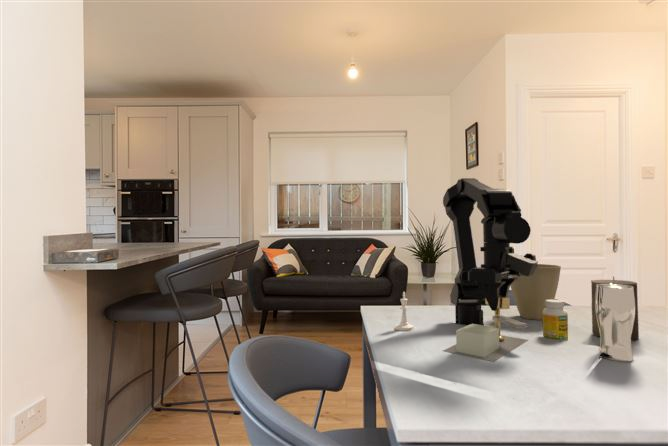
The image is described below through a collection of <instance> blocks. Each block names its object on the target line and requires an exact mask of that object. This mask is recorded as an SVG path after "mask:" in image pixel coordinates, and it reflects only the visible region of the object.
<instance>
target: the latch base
mask: <svg viewBox="0 0 668 446" xmlns="http://www.w3.org/2000/svg"><path fill="white" fill-rule="evenodd" d="M502 336H504V337H505V340H501V341H499V349H498V350H496V351H494V352H493V353H491V354H489V355H488V356H486V357H480V356H475V355H471V354H466V353H461V352H457V351H456V344H454V345H452V346H450V347H447V348H446V349H443V350H442V352H445V353H450V354H454V355H460V356H464V357H469V358H474V359H477V360H482V361H485V362H486V361H487V362H492V363H495V362H496V361H498V360H499V359H502V358H503V357H504V356H506V355H507V354H509V353H511V352H512V351H514V350H516V349H517V348H518V347H520V346H521V345H523V344H525V343H527V342H528V341H529V339H526V338H520V337H514V336H513V337H512V336H509V335H502Z"/></svg>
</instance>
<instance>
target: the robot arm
mask: <svg viewBox="0 0 668 446" xmlns="http://www.w3.org/2000/svg"><path fill="white" fill-rule="evenodd" d="M442 198H443V199H442V205H443V207H444V211H445V214H446V216H447V217H448V218H449V220H451V222H452V226H453V233H454V241H455V247H456V255H457V262H458V263H457V264H458V271H457V273H456V276H455V277H454V284H453V287H452V289H451V292H450V295H449V297H450V303H452V304H453V305H454V306H455V315H454V316H455V322H454V324H456V325H462V326H468V325H470V324H478V325H484V326H485V323H484V310H483V309H482V306H487V305H488V304H489V305H488V306H489V307H490V310H491V311H493V312H495V311H497V306H498V299H499V295H501V296H504V297H508V296H509V295H508V294H509V292H510V291H509V290H510V289H511V286H510V285H511V284H513V283H514V282H515V281H516V280H518V278H512V275H517V276H530V275H533V274H534V271H535V269H536V268H537V267H538V264H539V261H538V260H537V259H536V258H537V257H536V254H533V253H531V252H528V253H525V254H524V255H522V254H518V253H515V249H514V247H513V246H511V244H523V243H525V242H526V241H527V240H528V239H529V238H530V235H531V226H530V225H529V223H528V221H527V220H526V219H525V218H523V217H522V212H521V211H522V209H521V208H520V206H519V205H518V202H517V200H516V198H515V195H514V194H513V191H511V190H510V189H508V188H493V187H491V186H488V185H487V184H485V183H483V182H481V181H479V180H478V179H477V178H475V177H472V178H470V177H469V178H468V177H465V178H464V177H463V178H460V179H458V180H457V182H455V184H454V185H452V186H450V187H448V188H447V189H446V191H445V193H444V195H443V197H442ZM475 204H476V208H477V209H478V210H479V212H480V213H481V214H482V215H483V218H482V219H481V220H480V223H481V224H482V225H483V226H482V228H483V229H482V231H483V232H482V234H483V238H482V239H483V246H480V252H483V264H482V263H481V264H480V266H477V261H476V253H475V247H474V239H473V233H472V227H471V220H470V218H471V216H472V214H473V212H474V210H475V207H474V206H475ZM485 298H486V300H487V302H488V304H485Z"/></svg>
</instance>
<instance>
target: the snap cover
mask: <svg viewBox="0 0 668 446" xmlns="http://www.w3.org/2000/svg"><path fill="white" fill-rule="evenodd" d="M455 337H456V340H455V342H456V344H455V345H456V351H457V352H461V353H466V354H471V355H475V356H480V357H486V356H488V355H489V354H491V353H493V352H494V351H496V350H498V349H499V328H497V327H495V326H491V325H485V324H484V325H478V324H470V325H464V327H460V328H459V329H457V330H456V333H455Z"/></svg>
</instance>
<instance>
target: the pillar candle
mask: <svg viewBox="0 0 668 446" xmlns="http://www.w3.org/2000/svg"><path fill="white" fill-rule="evenodd" d="M590 281H591V282H590V283H591V323H592V324H591V325H592V326H591V327H592V329H591V330H592V332H591V333H592V335H594V336H596V337H598V338H600V331H599V326H598V322H597V317H596V310H595V294H596V285H597V284H620V285H629V286H633V287H634V288H633V289H634V298H635V318H634V324H633V329H632V334H631V342H632V341H633V342H635V341H637V340H639V338H640V336H639V335H640V332H639V305H638V304H639V303H638V298H639V297H638V283H637V282H636V281H630V280H621V279H615V276H612V279H593V280H590Z"/></svg>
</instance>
